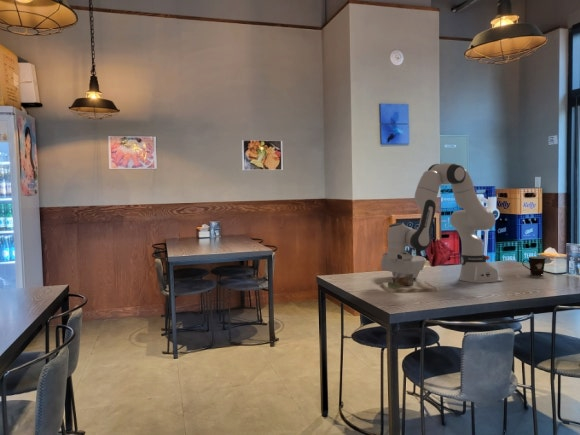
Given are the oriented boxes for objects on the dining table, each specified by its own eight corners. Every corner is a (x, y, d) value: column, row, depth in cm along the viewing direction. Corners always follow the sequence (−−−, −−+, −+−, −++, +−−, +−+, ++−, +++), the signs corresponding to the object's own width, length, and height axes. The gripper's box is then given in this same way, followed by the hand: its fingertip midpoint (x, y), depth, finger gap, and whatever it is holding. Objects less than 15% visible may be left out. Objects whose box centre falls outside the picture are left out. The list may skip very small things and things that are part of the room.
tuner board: (425, 284, 252) (425, 276, 252) (436, 291, 234) (436, 283, 234) (381, 285, 251) (381, 278, 251) (389, 292, 233) (389, 284, 233)
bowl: (429, 281, 260) (429, 260, 259) (389, 281, 262) (389, 261, 261) (421, 274, 282) (421, 255, 282) (384, 274, 284) (384, 255, 283)
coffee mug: (545, 273, 273) (545, 256, 273) (544, 276, 266) (544, 258, 266) (523, 272, 280) (523, 255, 279) (522, 274, 272) (522, 257, 272)
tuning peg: (410, 283, 246) (409, 272, 246) (415, 284, 243) (414, 273, 242) (391, 285, 241) (391, 274, 241) (396, 287, 238) (396, 275, 237)
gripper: (378, 252, 249) (378, 278, 250) (405, 257, 231) (405, 284, 232) (387, 251, 252) (387, 277, 253) (415, 256, 235) (415, 283, 235)
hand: (396, 280), depth 242 cm, fingers closed
